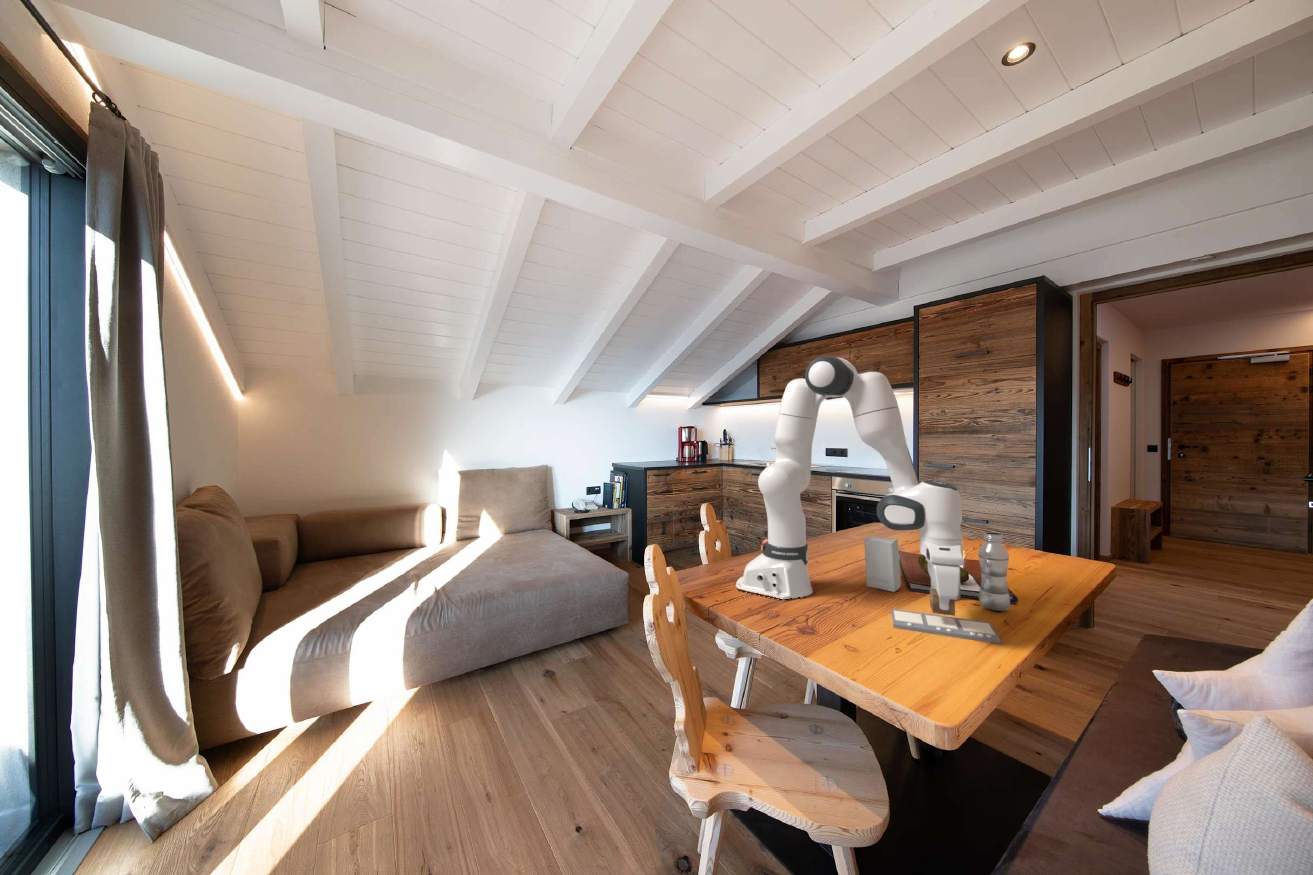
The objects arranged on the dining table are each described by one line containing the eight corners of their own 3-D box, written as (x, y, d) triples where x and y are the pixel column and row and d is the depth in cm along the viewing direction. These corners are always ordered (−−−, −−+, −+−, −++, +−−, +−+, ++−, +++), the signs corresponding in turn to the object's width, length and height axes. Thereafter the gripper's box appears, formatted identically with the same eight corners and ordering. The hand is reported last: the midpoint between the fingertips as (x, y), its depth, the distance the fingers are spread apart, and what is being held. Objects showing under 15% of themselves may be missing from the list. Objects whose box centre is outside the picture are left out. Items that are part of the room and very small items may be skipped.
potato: (959, 589, 130) (959, 562, 130) (914, 577, 141) (914, 552, 141) (972, 583, 134) (971, 557, 134) (927, 572, 145) (927, 548, 145)
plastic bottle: (1016, 614, 112) (1015, 537, 111) (986, 613, 113) (985, 536, 113) (1001, 604, 118) (1001, 531, 118) (973, 603, 120) (972, 530, 119)
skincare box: (901, 587, 132) (900, 538, 132) (894, 593, 128) (893, 542, 128) (871, 581, 138) (871, 534, 138) (864, 586, 134) (863, 538, 134)
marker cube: (932, 612, 106) (932, 594, 106) (930, 605, 110) (930, 588, 110) (955, 615, 104) (954, 596, 104) (951, 608, 108) (951, 590, 108)
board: (893, 627, 106) (893, 622, 106) (891, 611, 115) (891, 607, 115) (1000, 643, 97) (1000, 638, 97) (989, 625, 106) (989, 620, 106)
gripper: (920, 536, 117) (921, 588, 117) (931, 557, 99) (932, 618, 99) (948, 538, 115) (949, 591, 115) (964, 560, 96) (966, 623, 96)
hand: (941, 604), depth 107 cm, fingers closed on marker cube, 4 cm apart
